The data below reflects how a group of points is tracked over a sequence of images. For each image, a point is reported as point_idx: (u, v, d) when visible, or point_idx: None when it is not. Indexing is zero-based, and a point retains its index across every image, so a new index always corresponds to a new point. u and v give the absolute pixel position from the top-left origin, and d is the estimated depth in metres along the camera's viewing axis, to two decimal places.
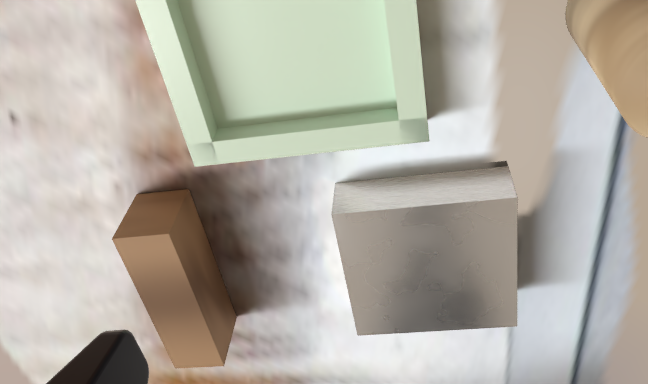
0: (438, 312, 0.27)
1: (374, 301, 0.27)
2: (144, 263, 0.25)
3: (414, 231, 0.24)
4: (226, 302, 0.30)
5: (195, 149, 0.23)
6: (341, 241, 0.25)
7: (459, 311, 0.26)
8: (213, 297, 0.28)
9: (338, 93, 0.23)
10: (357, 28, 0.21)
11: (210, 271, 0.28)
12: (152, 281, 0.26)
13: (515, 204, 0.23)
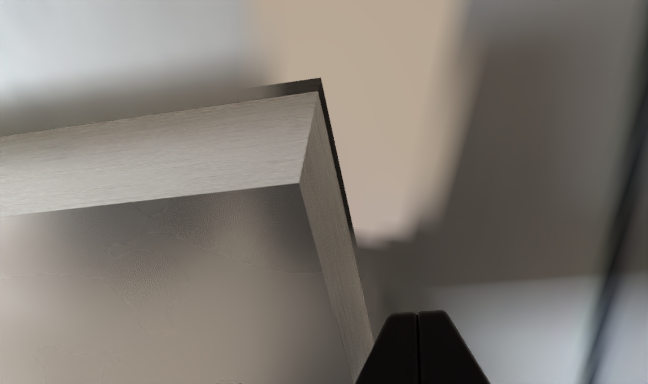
0: None
1: None
2: None
3: (18, 295, 0.08)
4: None
5: None
6: None
7: None
8: None
9: None
10: None
11: None
12: None
13: (299, 208, 0.07)
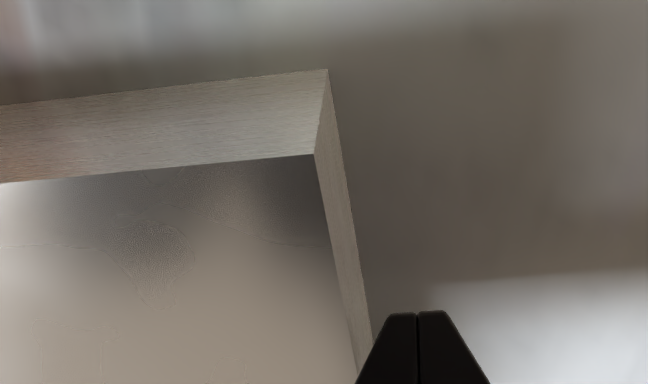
0: None
1: None
2: None
3: (16, 267, 0.08)
4: None
5: None
6: None
7: None
8: None
9: None
10: None
11: None
12: None
13: (312, 180, 0.06)
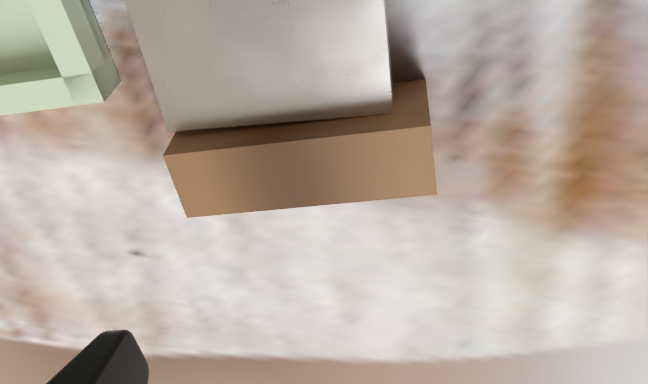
0: None
1: (317, 87, 0.18)
2: (221, 191, 0.19)
3: (177, 33, 0.17)
4: None
5: (79, 97, 0.19)
6: (209, 123, 0.19)
7: None
8: None
9: None
10: None
11: None
12: (252, 189, 0.19)
13: None
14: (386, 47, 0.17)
